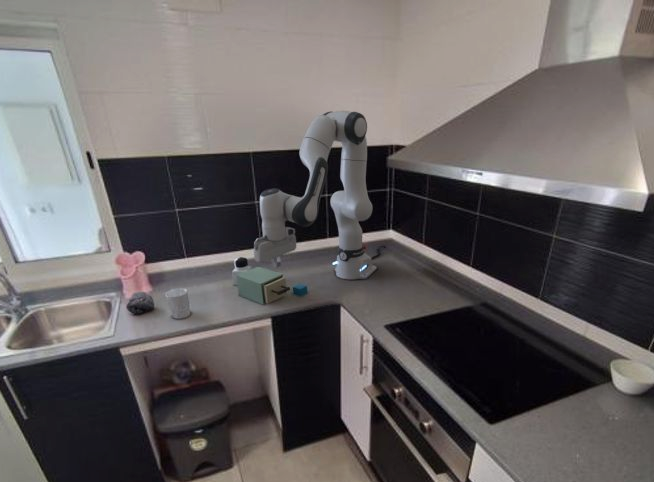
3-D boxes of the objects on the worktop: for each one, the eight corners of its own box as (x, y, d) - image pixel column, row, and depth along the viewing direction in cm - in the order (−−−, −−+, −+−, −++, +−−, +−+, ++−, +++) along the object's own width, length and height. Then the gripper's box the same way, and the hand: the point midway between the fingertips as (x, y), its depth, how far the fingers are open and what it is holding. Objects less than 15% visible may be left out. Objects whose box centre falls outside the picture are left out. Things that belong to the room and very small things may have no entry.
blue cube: (300, 290, 171) (299, 283, 170) (307, 293, 169) (307, 285, 167) (293, 294, 168) (292, 286, 167) (300, 296, 166) (300, 289, 164)
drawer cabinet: (284, 294, 168) (282, 274, 164) (263, 304, 160) (260, 283, 155) (260, 285, 177) (258, 266, 172) (239, 295, 168) (236, 275, 163)
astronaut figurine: (253, 279, 183) (250, 256, 177) (248, 285, 177) (245, 261, 171) (239, 279, 183) (235, 255, 178) (233, 285, 177) (230, 261, 171)
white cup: (171, 312, 154) (165, 290, 150) (191, 309, 157) (186, 286, 152) (171, 321, 148) (165, 298, 143) (192, 317, 150) (187, 294, 146)
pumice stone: (141, 322, 152) (161, 306, 158) (131, 308, 147) (152, 292, 153) (126, 315, 157) (146, 300, 163) (116, 301, 152) (137, 286, 157)
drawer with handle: (295, 297, 164) (293, 280, 160) (276, 306, 156) (274, 289, 152) (264, 286, 174) (262, 270, 170) (244, 294, 166) (242, 278, 162)
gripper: (259, 241, 138) (263, 276, 145) (297, 228, 153) (299, 260, 159) (248, 238, 142) (252, 272, 149) (286, 225, 156) (289, 257, 163)
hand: (277, 266), depth 154 cm, fingers closed
